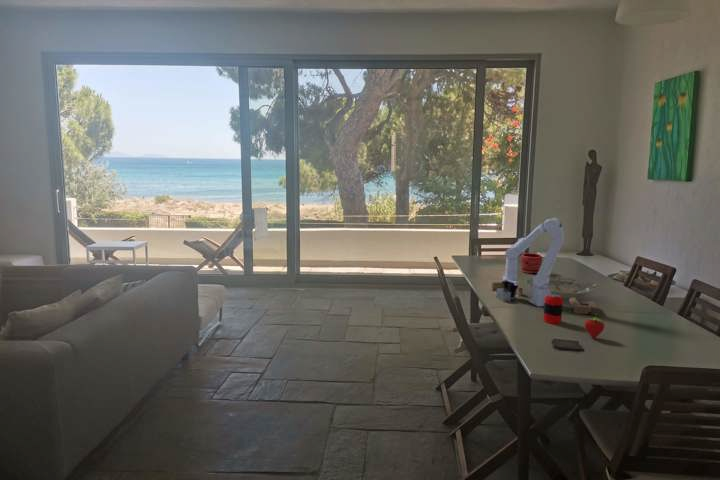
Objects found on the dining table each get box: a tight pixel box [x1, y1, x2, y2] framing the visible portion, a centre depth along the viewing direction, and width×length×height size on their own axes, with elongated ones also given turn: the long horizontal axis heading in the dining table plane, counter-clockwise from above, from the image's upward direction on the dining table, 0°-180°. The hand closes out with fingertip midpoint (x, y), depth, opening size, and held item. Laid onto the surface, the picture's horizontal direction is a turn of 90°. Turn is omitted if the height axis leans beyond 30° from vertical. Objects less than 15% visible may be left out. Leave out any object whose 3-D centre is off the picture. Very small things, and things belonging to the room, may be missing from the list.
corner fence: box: [491, 281, 523, 297], centre depth 268 cm, size 13×11×4 cm
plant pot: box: [520, 252, 543, 274], centre depth 322 cm, size 13×13×12 cm
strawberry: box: [584, 315, 605, 339], centre depth 199 cm, size 6×8×10 cm
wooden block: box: [568, 296, 601, 316], centre depth 240 cm, size 4×11×18 cm
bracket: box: [495, 288, 517, 303], centre depth 255 cm, size 9×8×5 cm
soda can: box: [542, 293, 564, 325], centre depth 219 cm, size 8×8×12 cm
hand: (509, 295), depth 258 cm, fingers closed on bracket, 4 cm apart
